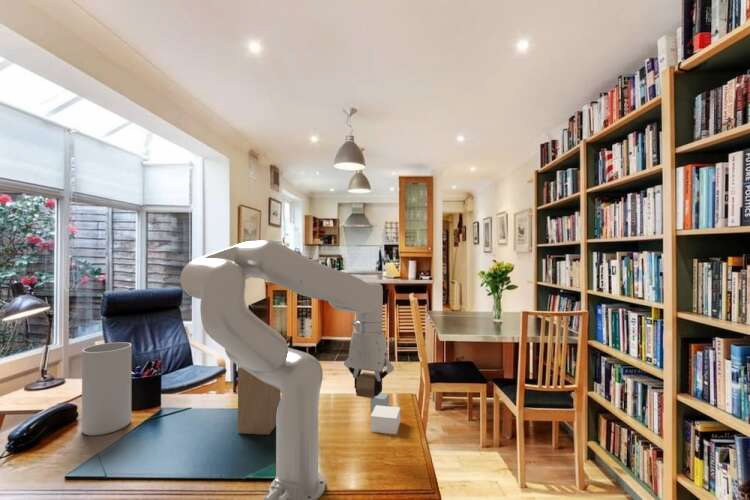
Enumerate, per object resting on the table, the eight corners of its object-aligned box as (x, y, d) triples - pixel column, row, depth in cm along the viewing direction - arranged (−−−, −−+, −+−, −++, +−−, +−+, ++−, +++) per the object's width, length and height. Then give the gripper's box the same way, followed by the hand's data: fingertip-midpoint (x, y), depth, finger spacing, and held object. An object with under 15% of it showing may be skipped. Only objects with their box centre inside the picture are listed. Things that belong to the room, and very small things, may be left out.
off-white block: (396, 435, 109) (396, 418, 109) (370, 432, 111) (370, 415, 111) (400, 422, 117) (400, 407, 117) (376, 420, 119) (375, 405, 119)
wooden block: (281, 420, 119) (281, 358, 119) (269, 435, 109) (269, 368, 109) (251, 418, 120) (251, 358, 120) (237, 433, 110) (237, 367, 110)
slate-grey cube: (384, 414, 123) (384, 399, 123) (370, 411, 125) (370, 397, 125) (388, 408, 128) (388, 394, 128) (375, 406, 130) (375, 392, 130)
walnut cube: (373, 398, 98) (373, 379, 98) (356, 395, 99) (356, 377, 99) (379, 392, 102) (379, 374, 102) (363, 389, 104) (363, 372, 104)
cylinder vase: (112, 436, 108) (112, 352, 108) (70, 436, 108) (71, 352, 108) (140, 417, 120) (140, 342, 120) (103, 417, 121) (103, 342, 121)
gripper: (335, 327, 101) (334, 393, 100) (393, 332, 95) (393, 402, 94) (346, 322, 108) (346, 384, 107) (402, 327, 102) (401, 392, 101)
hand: (368, 392), depth 101 cm, fingers closed on walnut cube, 4 cm apart
